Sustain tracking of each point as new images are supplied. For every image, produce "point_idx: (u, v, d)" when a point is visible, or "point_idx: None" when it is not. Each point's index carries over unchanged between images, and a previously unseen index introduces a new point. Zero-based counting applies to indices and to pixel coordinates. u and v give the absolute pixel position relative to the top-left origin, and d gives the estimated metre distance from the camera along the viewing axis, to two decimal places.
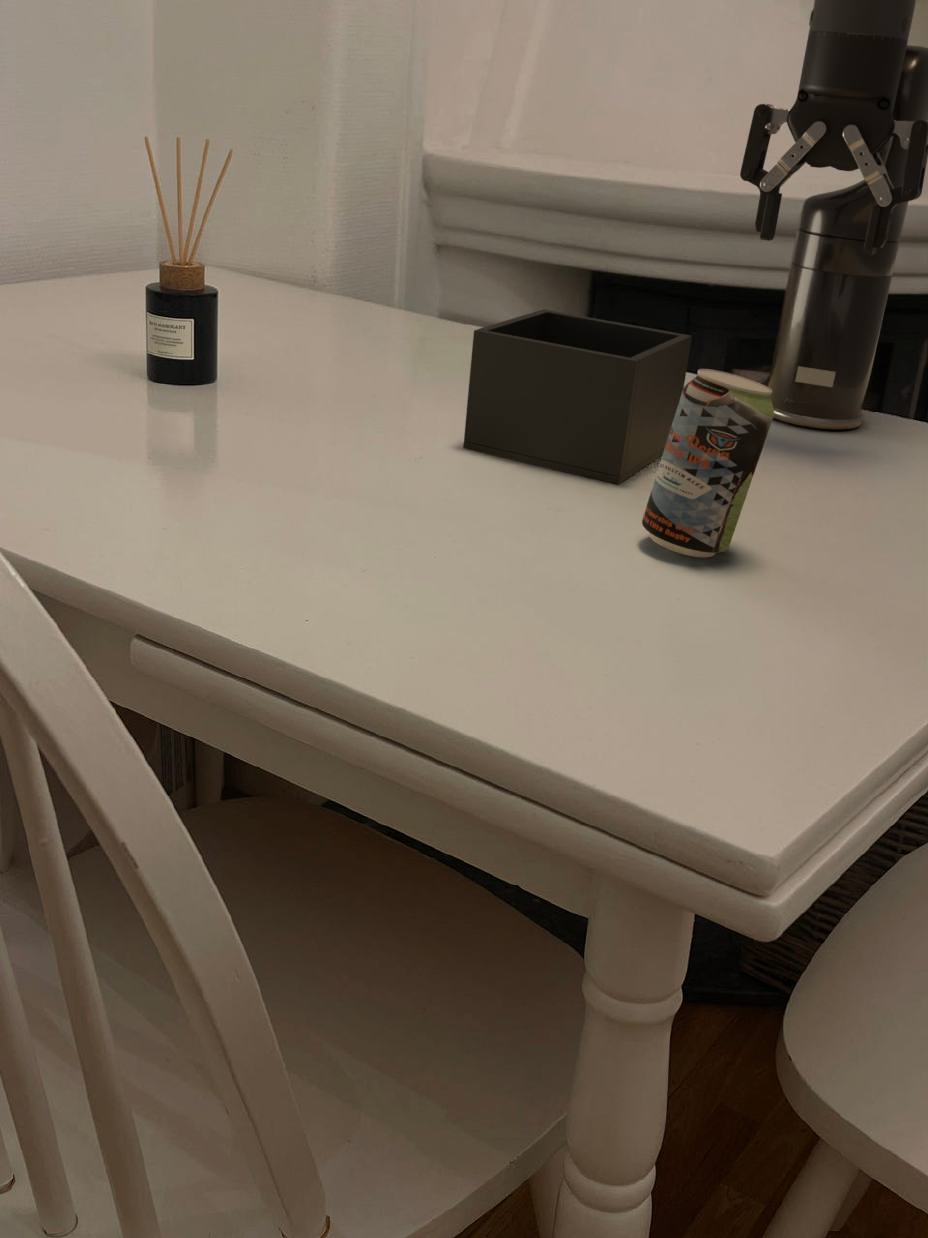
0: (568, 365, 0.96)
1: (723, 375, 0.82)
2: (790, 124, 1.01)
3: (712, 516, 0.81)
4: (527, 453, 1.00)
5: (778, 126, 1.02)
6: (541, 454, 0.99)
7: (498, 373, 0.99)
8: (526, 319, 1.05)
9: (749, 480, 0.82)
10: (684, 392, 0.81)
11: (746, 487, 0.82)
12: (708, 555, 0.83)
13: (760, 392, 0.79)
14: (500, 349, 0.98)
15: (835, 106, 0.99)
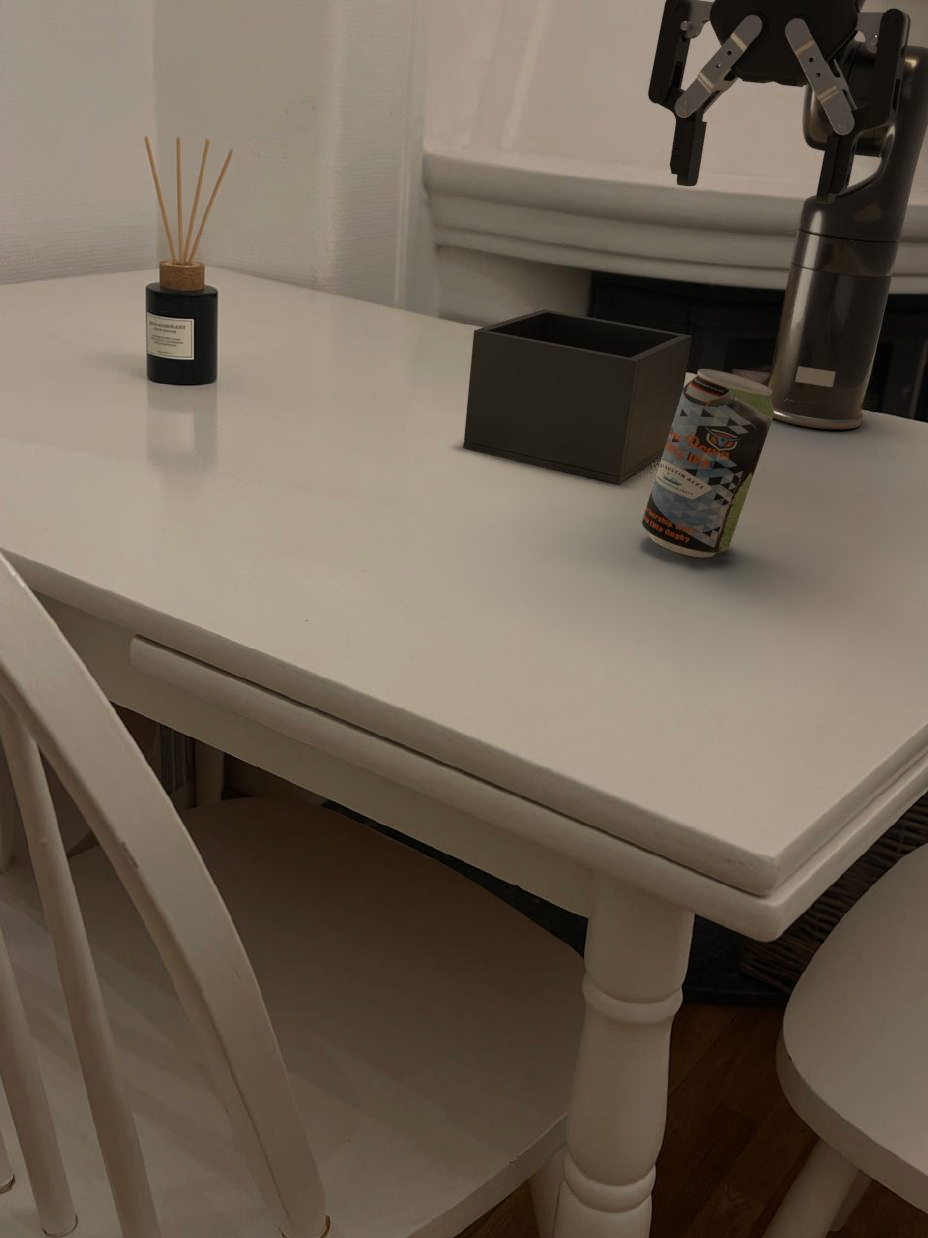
0: (568, 365, 0.96)
1: (723, 375, 0.82)
2: (714, 22, 0.73)
3: (712, 516, 0.81)
4: (527, 453, 1.00)
5: (699, 26, 0.74)
6: (541, 454, 0.99)
7: (498, 373, 0.99)
8: (526, 319, 1.05)
9: (749, 480, 0.82)
10: (684, 392, 0.81)
11: (746, 487, 0.82)
12: (708, 555, 0.83)
13: (760, 392, 0.79)
14: (500, 349, 0.98)
15: None
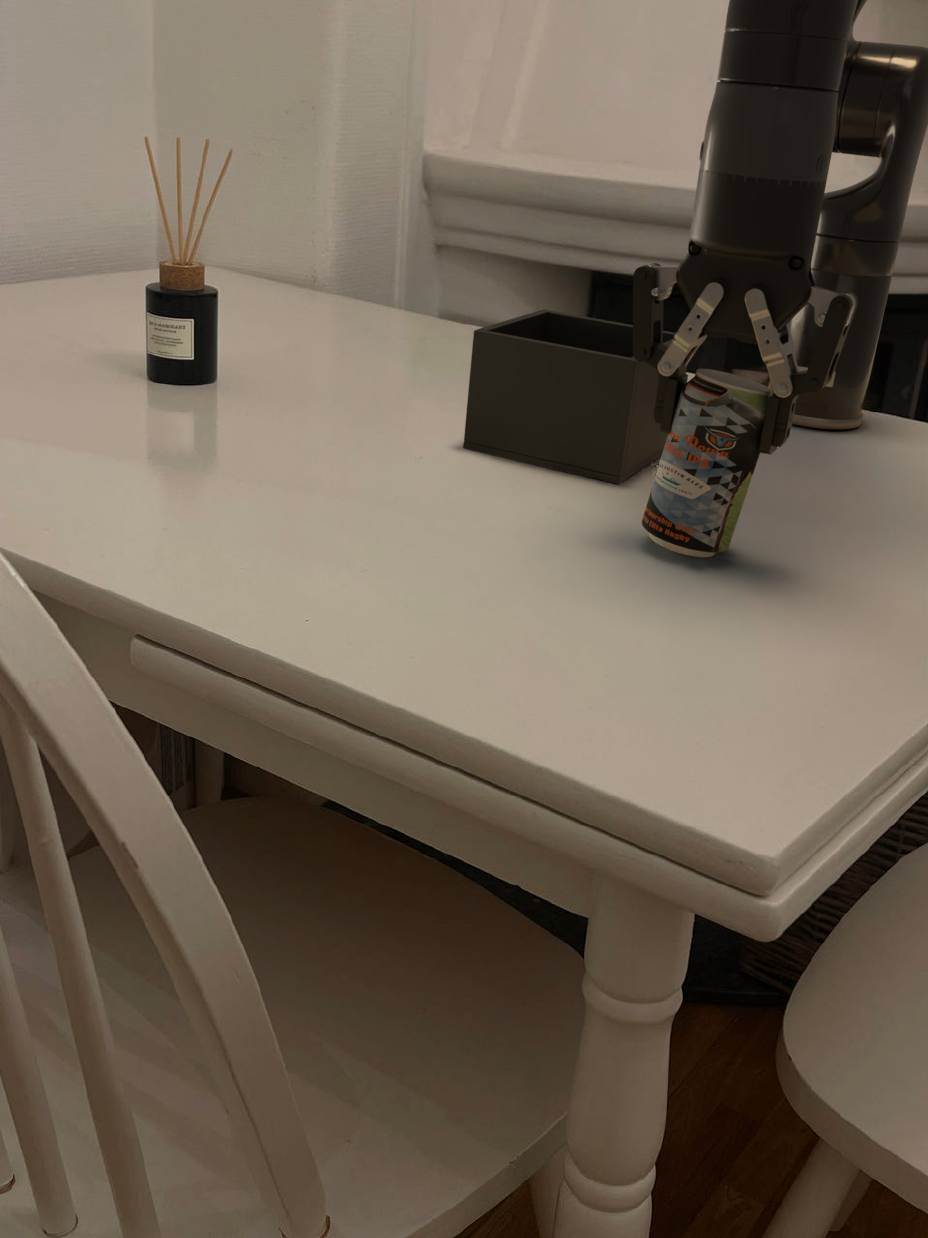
0: (568, 365, 0.96)
1: (722, 375, 0.82)
2: (680, 283, 0.79)
3: (711, 515, 0.81)
4: (527, 453, 1.00)
5: (668, 289, 0.80)
6: (541, 454, 0.99)
7: (498, 373, 0.99)
8: (526, 319, 1.05)
9: (748, 479, 0.81)
10: (683, 392, 0.81)
11: (745, 486, 0.82)
12: (708, 555, 0.83)
13: (759, 391, 0.79)
14: (500, 349, 0.98)
15: (735, 263, 0.77)
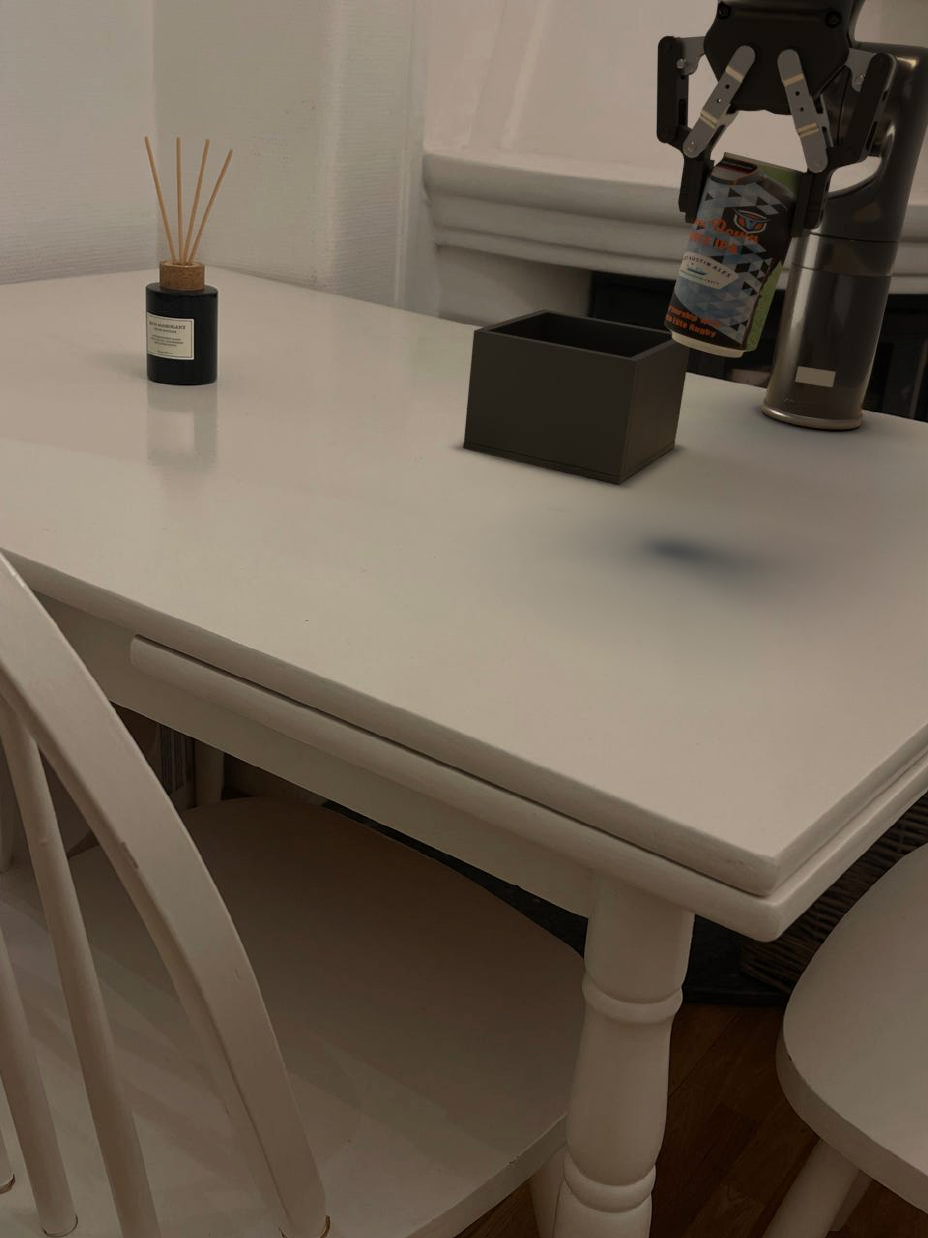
0: (568, 365, 0.96)
1: None
2: (707, 51, 0.74)
3: (739, 307, 0.76)
4: (527, 453, 1.00)
5: (695, 62, 0.75)
6: (541, 454, 0.99)
7: (498, 373, 0.99)
8: (526, 319, 1.05)
9: (778, 270, 0.77)
10: (710, 175, 0.76)
11: (775, 278, 0.77)
12: (735, 354, 0.79)
13: (791, 169, 0.74)
14: (500, 349, 0.98)
15: (767, 24, 0.72)
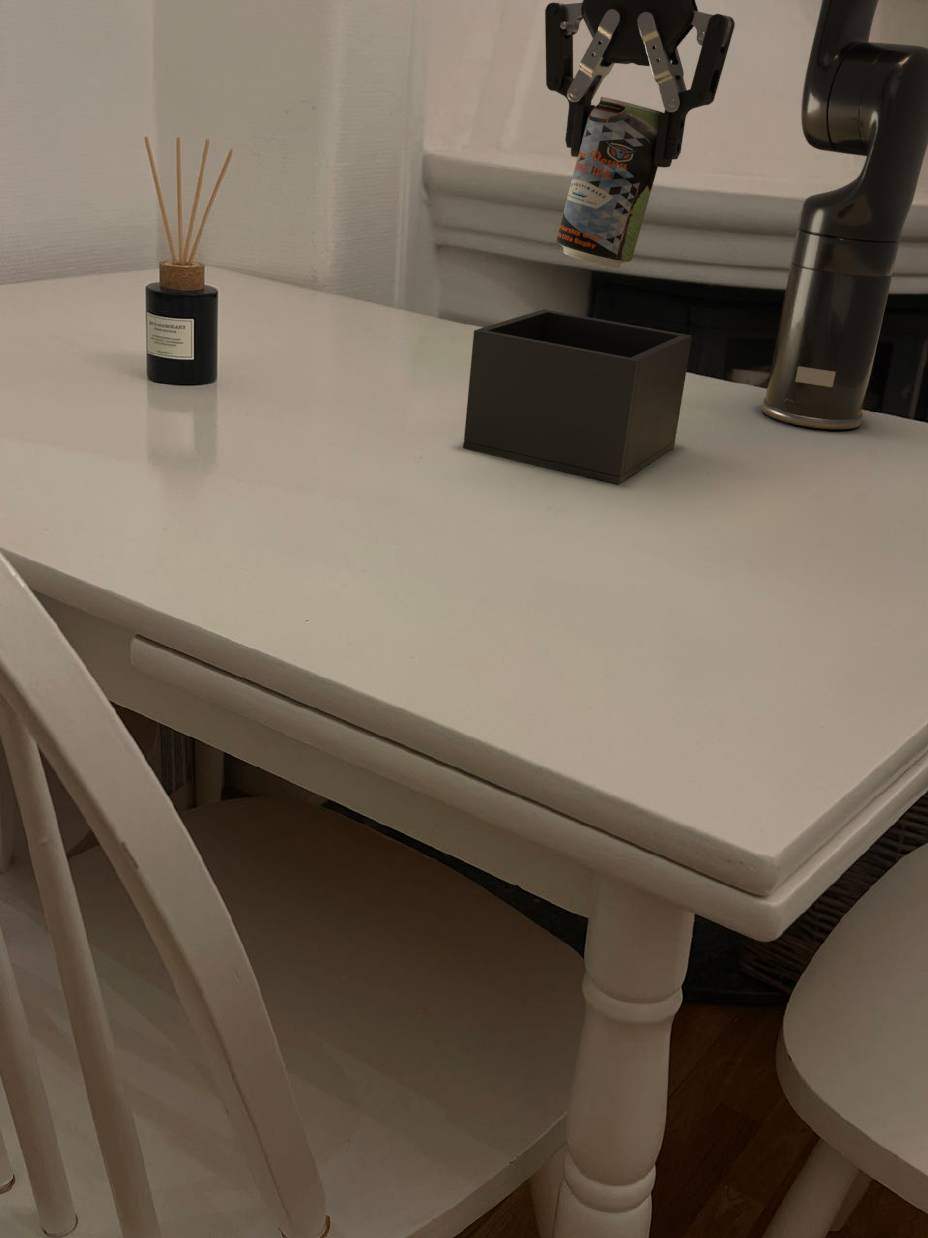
0: (568, 365, 0.96)
1: None
2: (584, 15, 0.91)
3: (614, 223, 0.94)
4: (527, 453, 1.00)
5: (575, 24, 0.92)
6: (541, 454, 0.99)
7: (498, 373, 0.99)
8: (526, 319, 1.05)
9: (646, 193, 0.94)
10: (589, 115, 0.93)
11: (644, 200, 0.94)
12: (613, 264, 0.96)
13: (652, 110, 0.92)
14: (500, 349, 0.98)
15: None
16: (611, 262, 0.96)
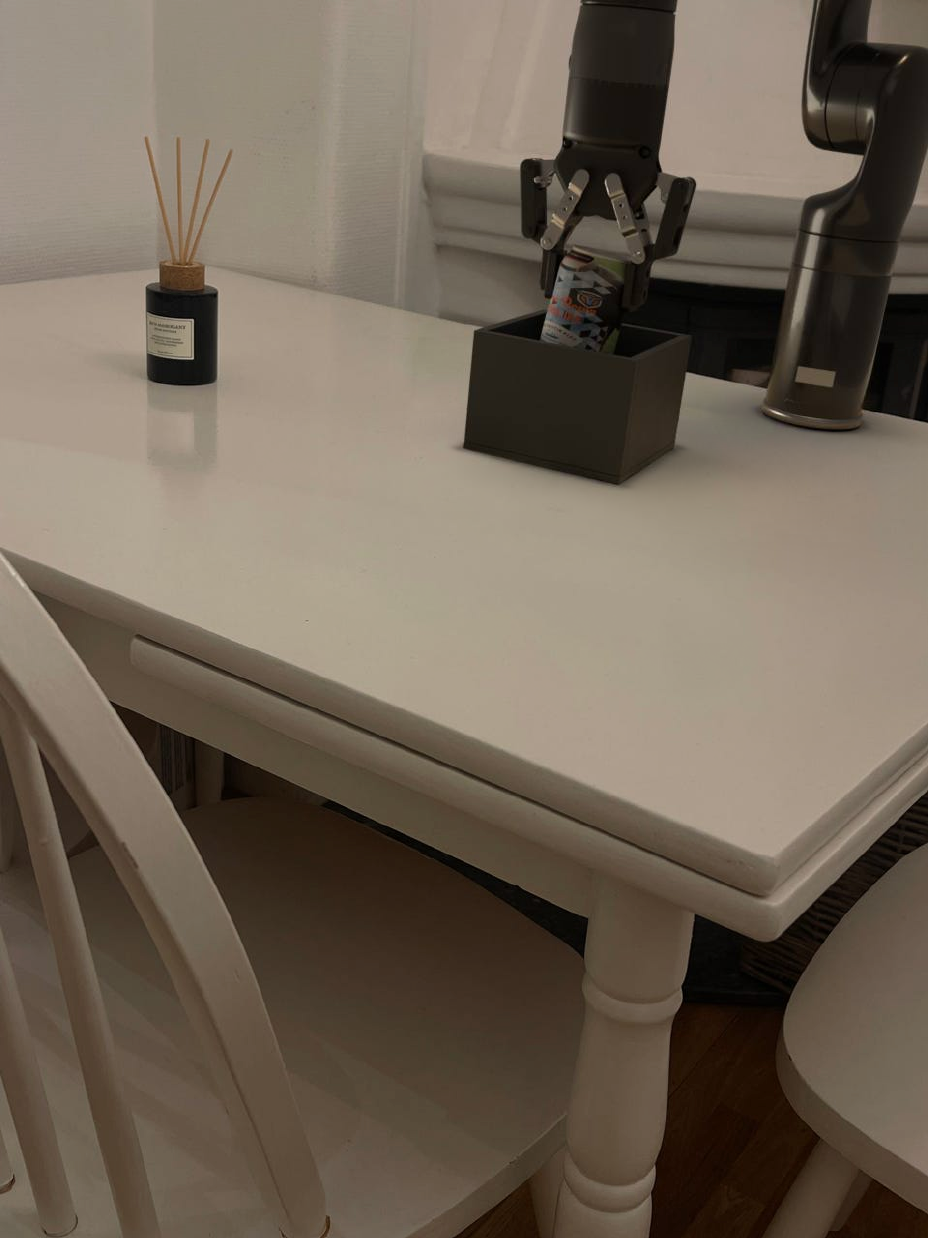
0: (568, 365, 0.96)
1: (594, 250, 1.01)
2: (556, 171, 0.97)
3: None
4: (527, 453, 1.00)
5: (548, 178, 0.99)
6: (541, 454, 0.99)
7: (498, 373, 0.99)
8: (526, 319, 1.05)
9: (615, 335, 1.00)
10: (561, 263, 0.99)
11: (612, 341, 1.00)
12: None
13: (620, 260, 0.98)
14: (500, 349, 0.98)
15: (598, 154, 0.95)
16: None
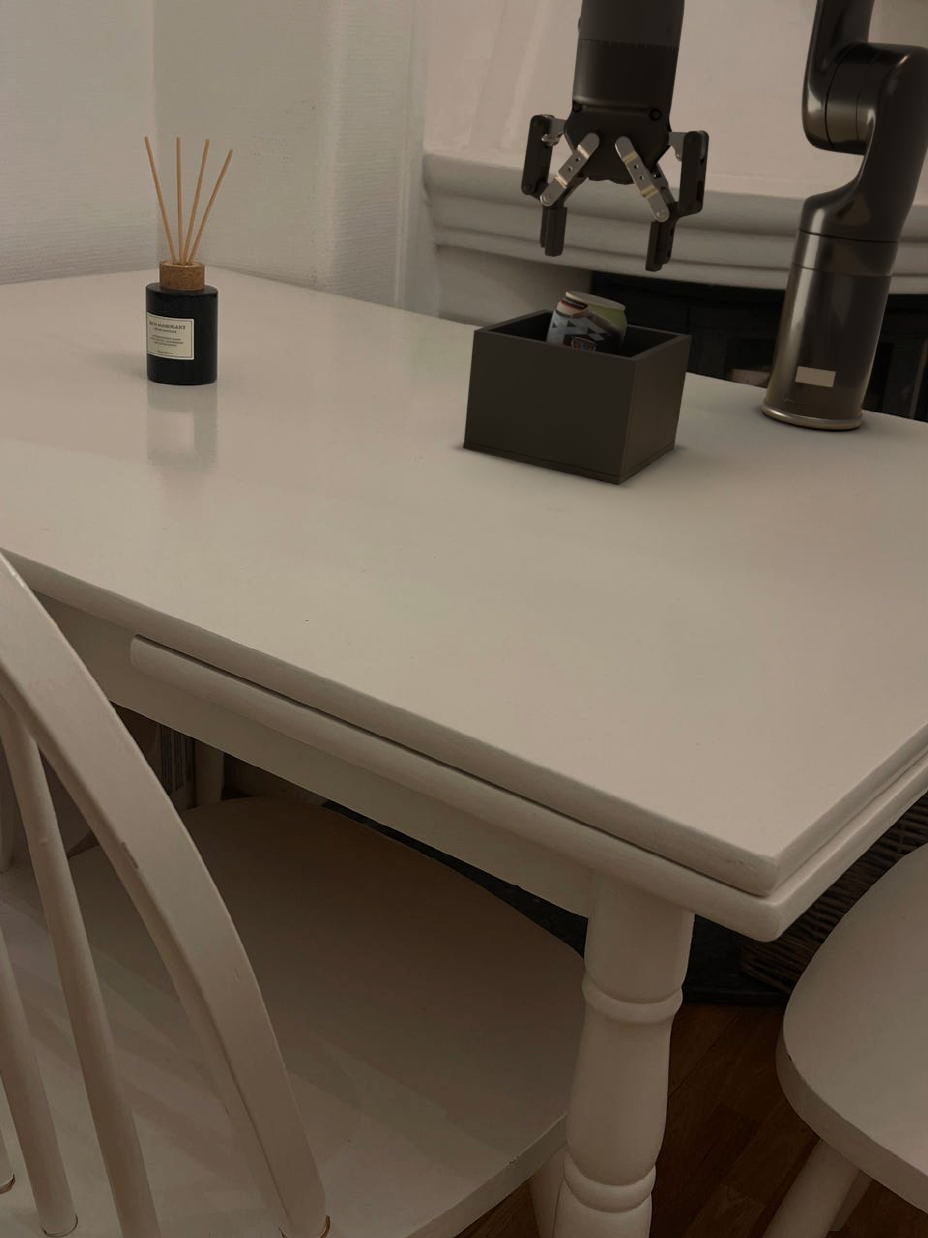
0: (568, 365, 0.96)
1: (588, 296, 1.02)
2: (566, 136, 0.97)
3: None
4: (527, 453, 1.00)
5: (556, 138, 0.98)
6: (541, 454, 0.99)
7: (498, 373, 0.99)
8: (526, 319, 1.05)
9: None
10: (555, 309, 1.01)
11: None
12: None
13: (613, 307, 0.99)
14: (500, 349, 0.98)
15: (608, 117, 0.95)
16: None
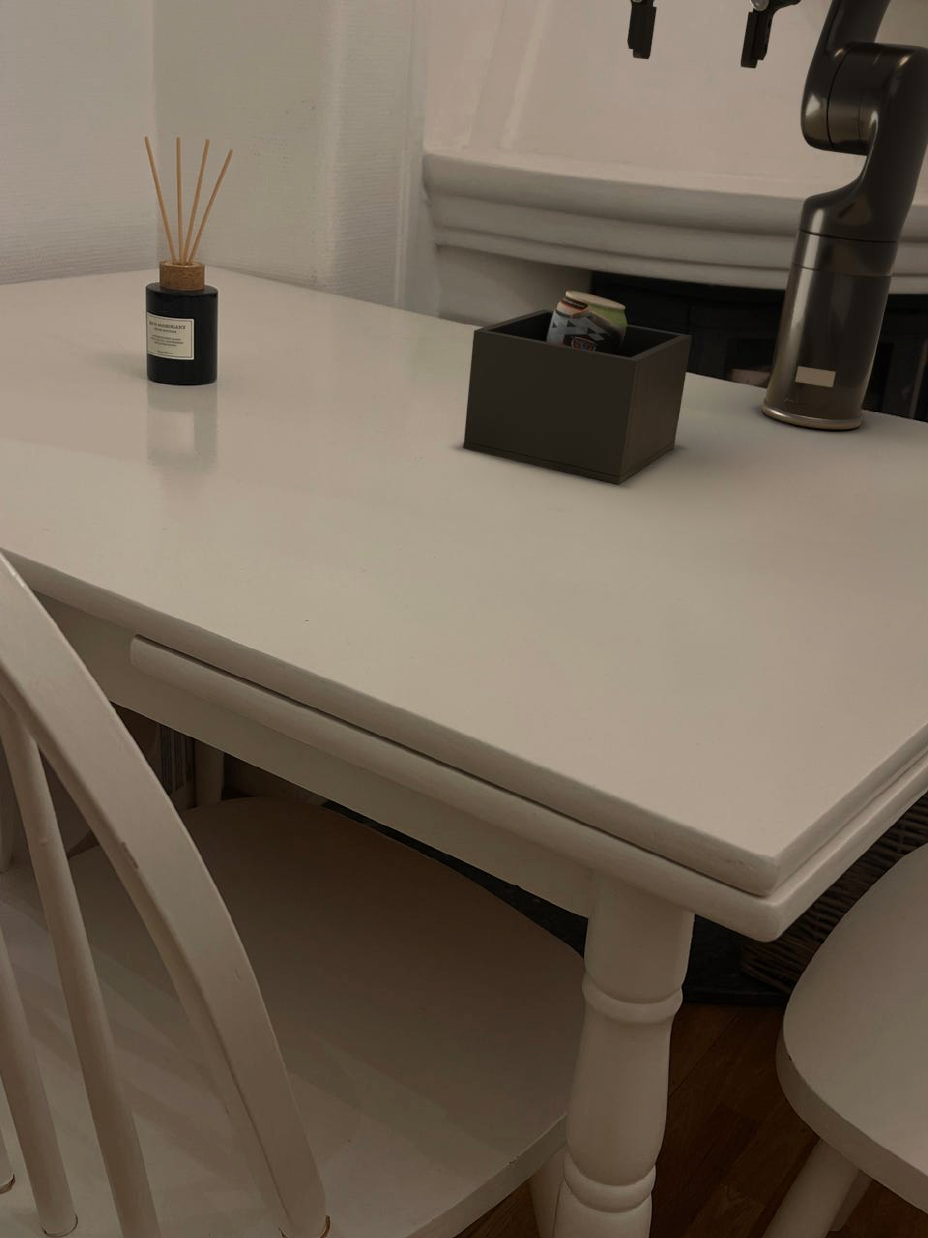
0: (568, 365, 0.96)
1: (588, 296, 1.02)
2: None
3: None
4: (527, 453, 1.00)
5: None
6: (541, 454, 0.99)
7: (498, 373, 0.99)
8: (526, 319, 1.05)
9: None
10: (555, 309, 1.01)
11: None
12: None
13: (613, 307, 0.99)
14: (500, 349, 0.98)
15: None
16: None
